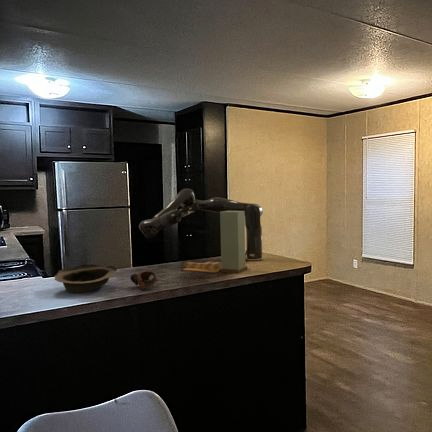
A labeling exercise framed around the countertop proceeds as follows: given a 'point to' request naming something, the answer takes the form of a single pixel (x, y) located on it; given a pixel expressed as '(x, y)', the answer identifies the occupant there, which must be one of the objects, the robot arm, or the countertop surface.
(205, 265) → the tan bread loaf
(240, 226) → the stand
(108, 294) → the countertop surface
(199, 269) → the mat
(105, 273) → the stone bowl
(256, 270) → the countertop surface
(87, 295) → the countertop surface
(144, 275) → the pottery mug
